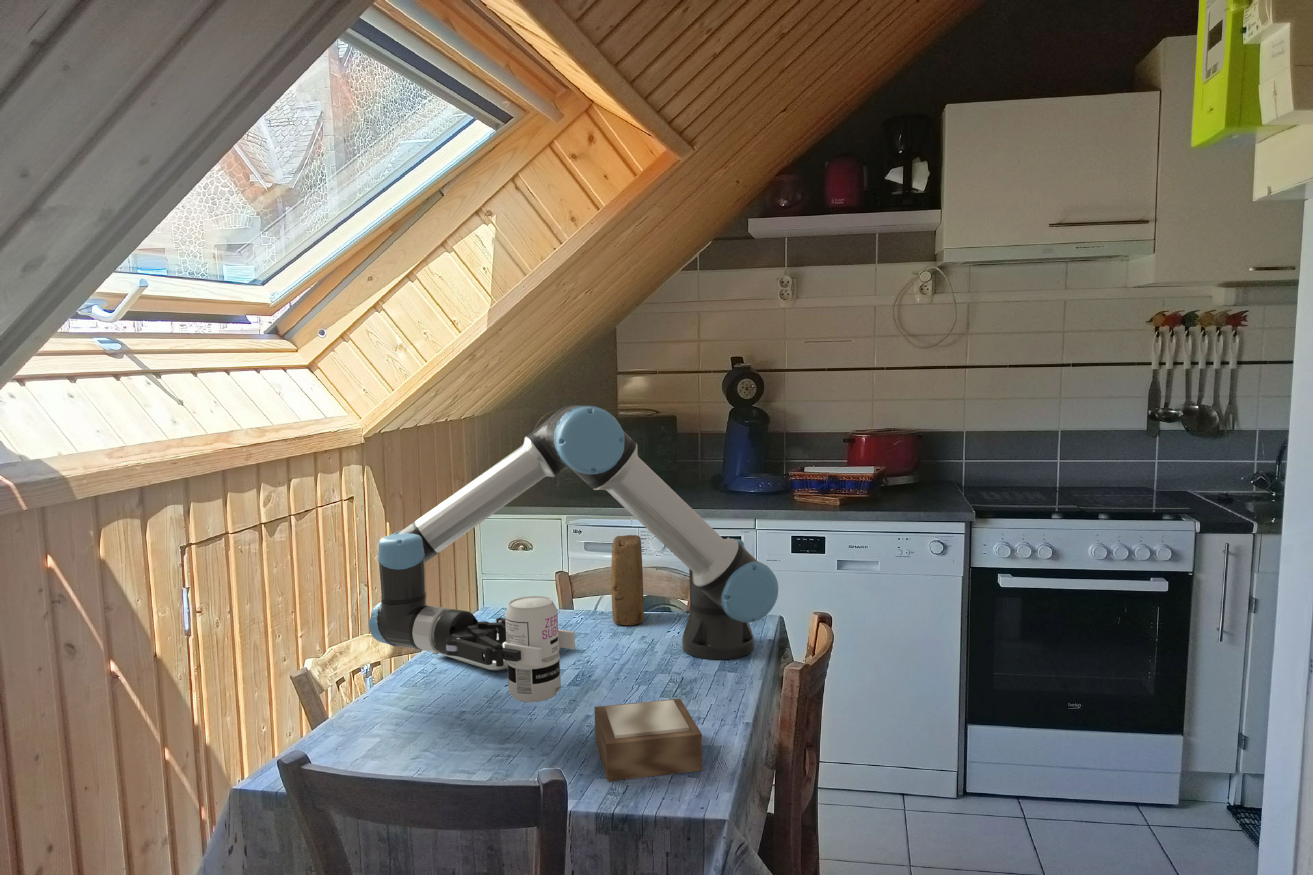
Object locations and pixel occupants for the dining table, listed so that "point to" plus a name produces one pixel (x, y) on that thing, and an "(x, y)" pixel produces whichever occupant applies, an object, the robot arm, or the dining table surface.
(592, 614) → the dining table surface
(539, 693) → the supplement can
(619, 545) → the block
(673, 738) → the walnut pedestal
